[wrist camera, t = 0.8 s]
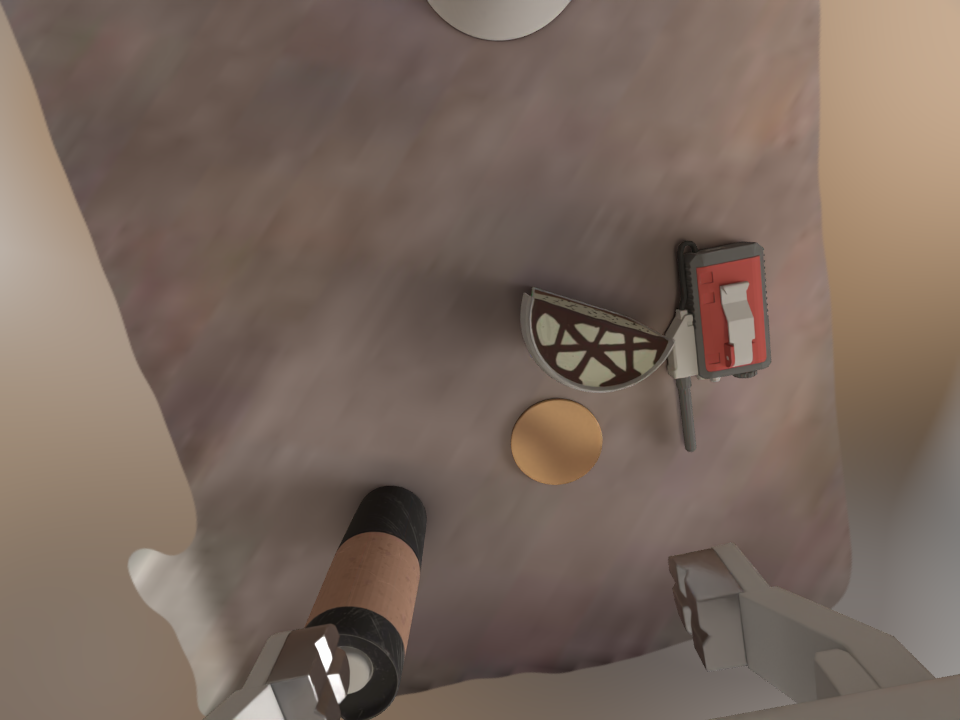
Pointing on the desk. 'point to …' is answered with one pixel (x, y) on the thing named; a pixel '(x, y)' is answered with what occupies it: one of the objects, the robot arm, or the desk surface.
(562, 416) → the cork coaster
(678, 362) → the walkie-talkie
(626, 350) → the food container
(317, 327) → the desk surface
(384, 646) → the travel mug
